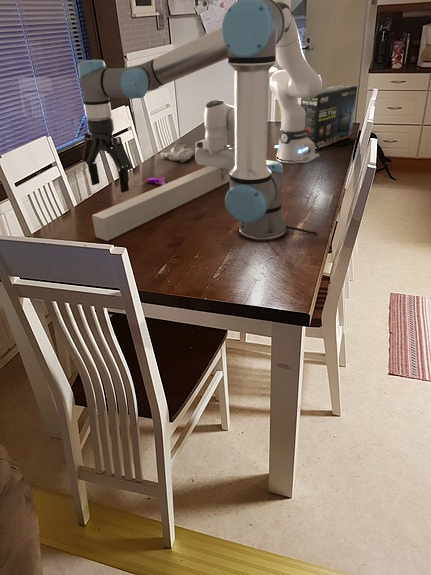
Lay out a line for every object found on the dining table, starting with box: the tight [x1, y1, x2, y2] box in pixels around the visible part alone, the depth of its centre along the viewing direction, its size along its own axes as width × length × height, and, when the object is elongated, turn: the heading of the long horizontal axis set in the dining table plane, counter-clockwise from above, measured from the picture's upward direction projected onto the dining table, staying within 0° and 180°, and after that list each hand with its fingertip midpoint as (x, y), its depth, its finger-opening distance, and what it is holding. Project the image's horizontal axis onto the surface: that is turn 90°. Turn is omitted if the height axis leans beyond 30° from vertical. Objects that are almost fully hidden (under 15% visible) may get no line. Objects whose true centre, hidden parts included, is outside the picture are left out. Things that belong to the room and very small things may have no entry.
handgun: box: [146, 176, 167, 187], centre depth 190 cm, size 21×8×2 cm, turn 11°
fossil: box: [160, 142, 197, 163], centre depth 229 cm, size 18×11×15 cm
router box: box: [300, 84, 358, 146], centre depth 238 cm, size 36×11×27 cm, turn 134°
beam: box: [91, 166, 231, 242], centre depth 172 cm, size 72×6×8 cm, turn 144°
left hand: (110, 187), depth 147 cm, fingers open, 13 cm apart
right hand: (217, 177), depth 192 cm, fingers closed on beam, 5 cm apart
